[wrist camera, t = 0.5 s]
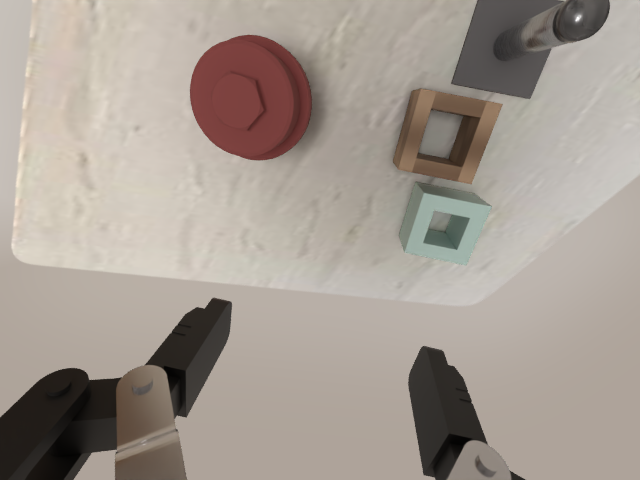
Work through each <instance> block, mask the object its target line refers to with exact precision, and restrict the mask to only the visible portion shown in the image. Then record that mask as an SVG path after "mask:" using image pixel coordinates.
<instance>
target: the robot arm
mask: <svg viewBox="0 0 640 480" xmlns="http://www.w3.org/2000/svg"><path fill="white" fill-rule="evenodd" d="M231 310H232V303H231V302H230V301H226V300H221V299H217V298H213V299H211V301H210V302H209V303H208V305H207V306H206V308H205V309H203V308H198V307H197V308H195V309H193V310H192V311H190V312H188V313H187V314H185V316H184V317H183V318H182V319H181V321H180V322H179V323H178V325H177V326H176V327H175V328H174V329H173V331H172V333H171V334H169V336H168V337H167V338H166V339H165V341H164V342H163V343H162V345H161V346H160V347H159V348H158V350H157V351H156V352H155V353H154V355H153V356H152V357H151V358H150V360H149V361H148V362H147V363H146V364H145V365H144V366H140V367H137V368H135V369H132V370H131V371H129V372H128V373H127V374H125V375H124V376H123V377H121V378H115V379H100V380H89V378H88V375H87V373H86V372H85V371H83V370H81V369H77V368H68V369H62V370H58V371H55V372H53V373H51V374H49V375H47V376H45V377H43V378H42V379H40V380H39V381H38V382H37V383H36V384H35V385H34V386H33V387H31V388H30V390H29V391H27V392H26V393H25V394H24V395H23V396H22V397H21V398H20V399H19V400H18V401H17V402H16V403H15V404H14V405H13V406H12V407H11V408H10V409H9V410H8V411H7V412H6V413H4V415H2V416H1V417H0V480H73V479H74V478H75V476H76V475H77V474H78V472H79V471H80V469H81V468H82V466H83V465H84V463H85V462H86V460H87V459H88V457H89V456H90V455H91V453H92V452H100V451H108V450H117V452H116V454H115V480H187V478H186V472H185V466H184V461H183V455H182V449H181V444H180V438H179V434H178V430H176V426H175V420H174V419H175V417H176V416H177V415H178V416H182V417H187V415H188V413H189V412H190V410H191V408H192V406H193V404H194V402H195V400H196V398H197V397H198V395H199V393H200V391H201V389H202V387H203V386H204V384H205V382H206V380H207V378H208V376H209V374H210V372H211V370H212V369H213V367H214V365H215V363H216V361H217V359H218V357H219V356H220V354H221V352H222V350H223V348H224V346H225V344H226V342H227V340H228V337H229V332H230V323H231ZM408 383H409V384H408V385H409V392H410V398H411V404H412V410H413V416H414V421H415V427H416V433H417V439H418V445H419V451H420V456H421V462H422V468H423V474H424V475H426V476H431V477H435V479H436V480H525V479H523V478H521V477H520V476H518V475H516V474H514V473H513V472H511V471H510V470H509V468H508V466H507V464H506V462H505V461H504V459H503V458H502V457H501V456H500V454H499V453H498V452H497V451H495V450H494V449H493V448H492V447H490V446H489V445H488V444H487V441H486V438H485V436H484V433H483V430H482V428H481V425H480V422H479V420H478V417H477V414H476V411H475V409H474V406H473V404H472V403H471V398H470V395H469V393H468V390H467V387H466V385H465V382H464V379H463V377H462V376H461V375H460V374H459V372H458V371H457V370H456V368H455V367H454V366H450V365H448V364H447V361H446V357H445V355H444V352H443V351H442V350H439V349H435V348H430V347H426V346H423V347H422V348H421V349H420V351H419V353H418V356H417V358H416V360H415V362H414V364H413V367H412V369H411V371H410V374H409V382H408Z"/></svg>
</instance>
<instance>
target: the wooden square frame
mask: <svg viewBox="0 0 640 480" xmlns="http://www.w3.org/2000/svg"><path fill="white" fill-rule="evenodd" d="M502 105H503V104H499V103H494V102H489V101H483V100H478V99H473V98H468V97H462V96H457V95H452V94H447V93H442V92H436V91H431V90H426V89H417V90H413V91H412V93H411V97H410V100H409V104H408V108H407V111H406V115H405V119H404V122H403V126H402V130H401V133H400V137H399V141H398V144H397V148H396V152H395V155H394V159H393V162H394V164H395V165H396V167H397V168H398V170H403V171H408V172H413V173H418V174H423V175H428V176H433V177H438V178H443V179H448V180H453V181H458V182H463V183H468V184H472V181H473V179H474V176H475V173H476V171H477V168H478V166H479V163H480V161H481V158H482V156H483V153H484V150H485V148H486V145H487V143H488V140H489V138H490V135H491V133H492V130H493V128H494V125H495V122H496V120H497V117H498V115H499V112H500V110H501V107H502ZM431 110H436V111H441V112H446V113H451V114H456V115H462V116H464V117H463V119H462V122H461V125H460V128H459V131H458V134H457V137H456V140H455V142H454V145H453V148H452V151H451V154H450V157H449V159H445V158H440V157H435V156H430V155H425V154H420V153H418V151H419V147H420V144H421V141H422V137H423V134H424V131H425V127H426V124H427V121H428V118H429V114H430V111H431Z"/></svg>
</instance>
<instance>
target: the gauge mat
mask: <svg viewBox="0 0 640 480" xmlns="http://www.w3.org/2000/svg"><path fill="white" fill-rule="evenodd" d="M562 2H564V1H559V0H478V1H477V5H476V8H475V11H474V14H473V17H472V20H471V23H470V27H469V30H468V33H467V36H466V39H465V42H464V45H463V49H462V52H461V55H460V58H459V61H458V64H457V67H456V71H455V74H454V77H453V80H452V83H451V84H455V85H460V86H465V87H471V88H476V89H481V90H486V91H492V92H497V93H502V94H507V95H513V96H518V97H523V98H528V99H530V98H531V96H532V93H533V91H534V89H535V86H536V84H537V81H538V79H539V77H540V74H541V72H542V70H543V67H544V65H545V63H546V60H547V58H548V55H549V53H550V51H551V48H549V49H546V50H543V51H539V52H536V53H532V54H529V55H526V56H522V57H519V58H515V59H512V60H508V61H501V60H499V59H497V58H496V57H495V55H494V51H493V47H494V43H495V41H496V39H497V37H498V36H499V35H500V34H501V33H503V32H504V31H506V30H508V29H510V28H512V27H514V26H516V25H518V24H520V23H522V22H524V21H526V20H528V19H530V18H532V17H534V16H536V15H538V14H540V13H542V12H544V11H546V10H548V9H550V8H552V7H554V6H556V5H558V4H560V3H562Z"/></svg>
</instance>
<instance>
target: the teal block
mask: <svg viewBox="0 0 640 480" xmlns="http://www.w3.org/2000/svg"><path fill="white" fill-rule="evenodd" d="M491 208H492V206H490V205H489V204H488V203H486V202H485V201H484V200H482V199H481V198H480V197H478V196H477V195H476V194H474V193H469V192H464V191H459V190H454V189H449V188H444V187H439V186H434V185H429V184H424V183H419V182H415V185H414V188H413V192H412V195H411V198H410V201H409V204H408V208H407V211H406V214H405V217H404V220H403V224H402V227H401V230H400V233H399V237H400V241H401V244H402V247H403V250H404V253H408V254H413V255H418V256H423V257H427V258H432V259H437V260H442V261H447V262H451V263H456V264H461V265H467V263H468V261H469V258H470V256H471V254H472V251H473V249H474V247H475V244H476V242H477V240H478V238H479V235H480V233H481V231H482V228H483V226H484V224H485V221H486V219H487V217H488V215H489V212H490V210H491ZM434 211H438V212H443V213H448V214H452V216H451V219H450V222H449V224H448V227H447V229H446V232H440V231H435V230H430V229H428V227H429V224H430V221H431V219H432V216H433V213H434Z"/></svg>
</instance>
